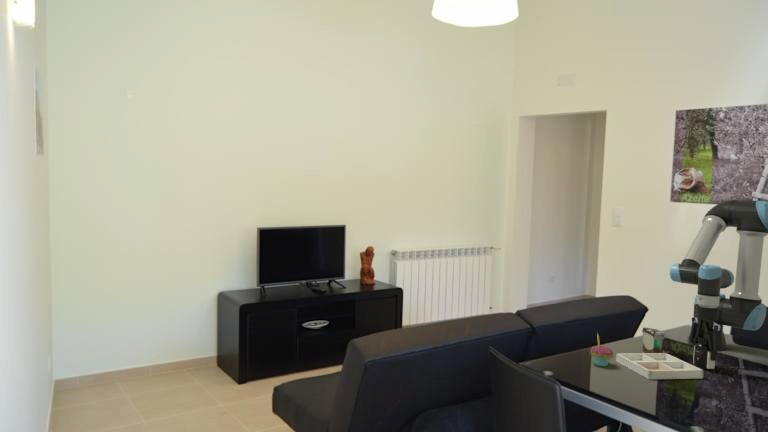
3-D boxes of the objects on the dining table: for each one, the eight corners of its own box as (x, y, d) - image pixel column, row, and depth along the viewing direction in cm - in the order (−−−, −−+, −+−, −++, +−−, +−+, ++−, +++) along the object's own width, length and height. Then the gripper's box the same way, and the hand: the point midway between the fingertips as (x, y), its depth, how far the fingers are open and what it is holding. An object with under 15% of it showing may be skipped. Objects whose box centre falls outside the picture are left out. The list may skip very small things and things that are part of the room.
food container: (669, 360, 235) (670, 335, 234) (653, 359, 235) (655, 334, 234) (655, 351, 247) (657, 327, 246) (640, 350, 247) (642, 327, 247)
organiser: (665, 360, 234) (665, 353, 233) (703, 378, 213) (703, 370, 212) (615, 361, 230) (616, 353, 230) (649, 379, 209) (649, 371, 209)
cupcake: (587, 365, 223) (589, 334, 223) (591, 359, 231) (592, 329, 230) (611, 369, 219) (613, 337, 219) (614, 363, 227) (616, 332, 226)
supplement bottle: (689, 365, 228) (691, 334, 228) (704, 364, 230) (706, 334, 229) (701, 370, 222) (703, 339, 221) (717, 370, 223) (719, 339, 222)
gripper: (681, 300, 233) (677, 357, 235) (717, 311, 214) (713, 373, 215) (698, 300, 235) (694, 357, 236) (735, 311, 215) (731, 373, 216)
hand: (703, 365), depth 226 cm, fingers closed on supplement bottle, 7 cm apart
